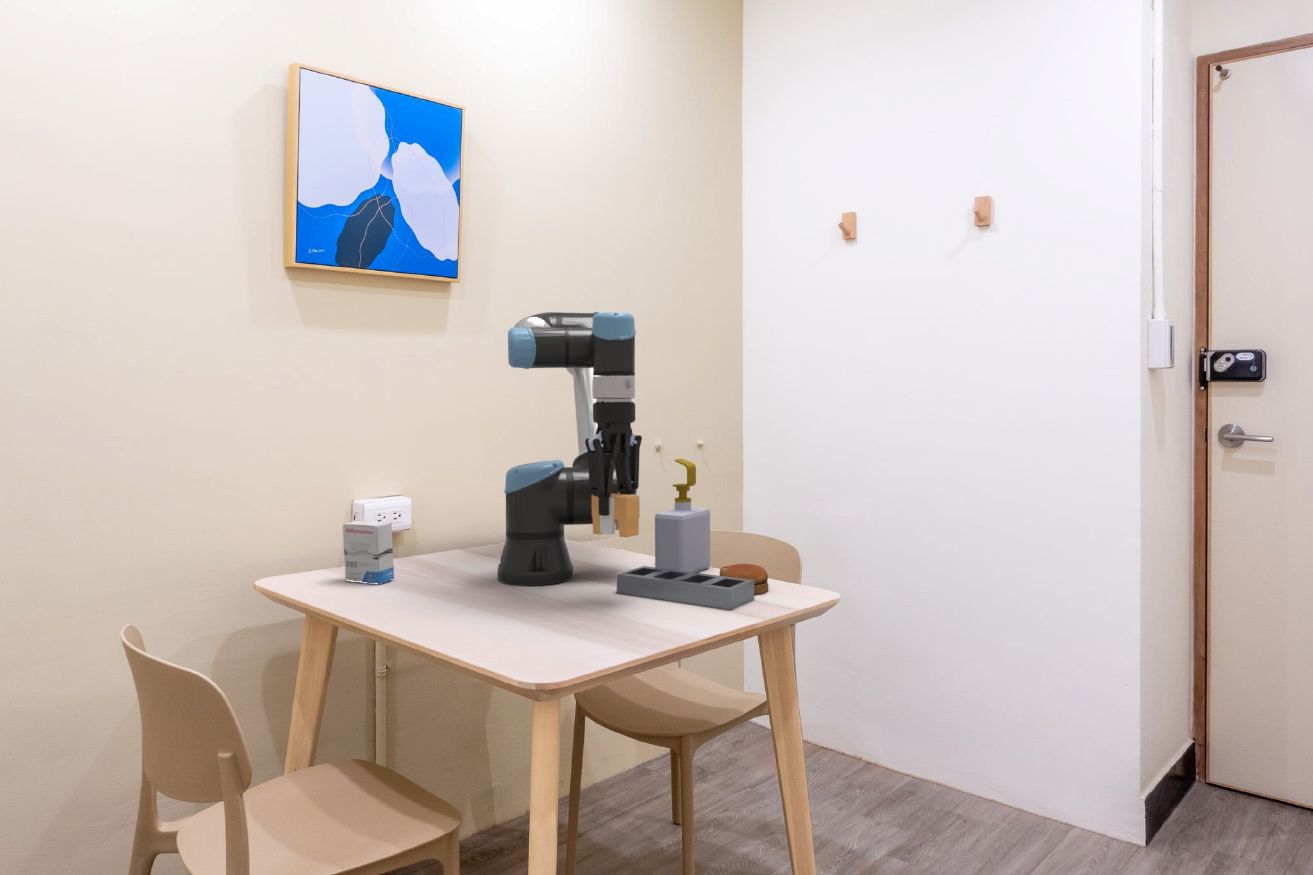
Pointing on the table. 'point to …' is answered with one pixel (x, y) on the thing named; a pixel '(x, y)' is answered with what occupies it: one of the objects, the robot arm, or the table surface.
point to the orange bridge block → (620, 514)
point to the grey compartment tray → (686, 587)
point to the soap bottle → (683, 531)
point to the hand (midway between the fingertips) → (614, 531)
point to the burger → (748, 575)
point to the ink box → (368, 551)
